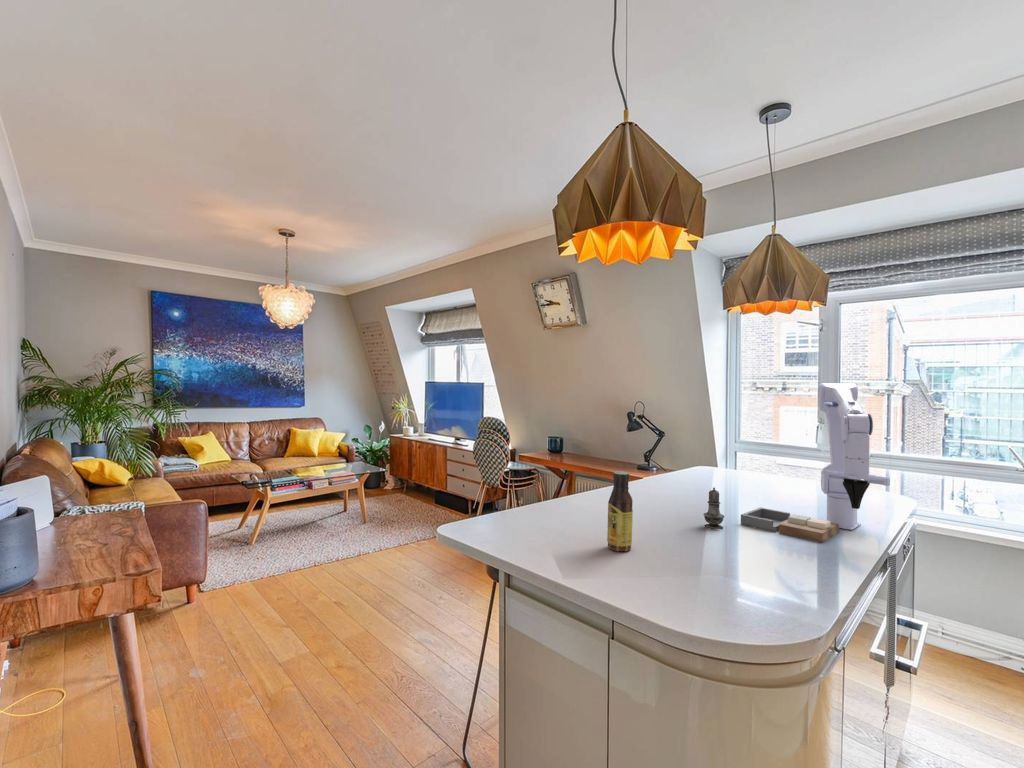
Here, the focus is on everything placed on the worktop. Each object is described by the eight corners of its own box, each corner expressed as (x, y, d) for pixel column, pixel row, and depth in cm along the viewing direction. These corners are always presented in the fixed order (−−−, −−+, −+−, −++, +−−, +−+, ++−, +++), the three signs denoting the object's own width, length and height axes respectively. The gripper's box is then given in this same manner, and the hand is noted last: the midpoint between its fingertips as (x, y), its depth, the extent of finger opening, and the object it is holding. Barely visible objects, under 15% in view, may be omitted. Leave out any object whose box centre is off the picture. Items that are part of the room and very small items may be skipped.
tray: (760, 516, 159) (760, 507, 159) (793, 523, 152) (793, 513, 152) (740, 524, 150) (740, 514, 150) (775, 532, 143) (775, 521, 143)
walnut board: (797, 524, 151) (797, 516, 151) (838, 532, 143) (838, 523, 143) (779, 533, 142) (779, 524, 142) (822, 542, 134) (822, 533, 134)
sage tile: (794, 519, 147) (794, 514, 147) (810, 522, 144) (810, 517, 144) (788, 521, 144) (788, 516, 144) (805, 525, 141) (805, 520, 141)
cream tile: (812, 522, 144) (812, 517, 144) (830, 526, 140) (830, 521, 140) (807, 525, 141) (807, 520, 141) (825, 529, 137) (825, 524, 137)
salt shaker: (726, 530, 144) (726, 489, 144) (705, 529, 145) (705, 488, 145) (722, 525, 150) (722, 485, 150) (701, 523, 151) (701, 484, 151)
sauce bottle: (604, 545, 130) (605, 469, 130) (627, 544, 130) (628, 469, 130) (611, 553, 123) (612, 474, 123) (635, 553, 124) (636, 474, 124)
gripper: (821, 456, 137) (820, 505, 137) (885, 462, 126) (884, 516, 126) (829, 454, 141) (829, 501, 141) (892, 460, 130) (891, 511, 130)
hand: (855, 508), depth 134 cm, fingers closed
